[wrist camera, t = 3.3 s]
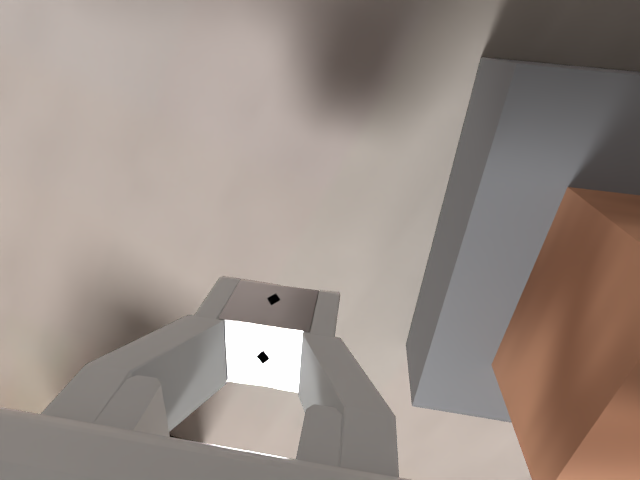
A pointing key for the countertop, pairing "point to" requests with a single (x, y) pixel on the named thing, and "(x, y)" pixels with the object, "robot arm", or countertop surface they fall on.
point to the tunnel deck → (511, 213)
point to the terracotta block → (579, 344)
